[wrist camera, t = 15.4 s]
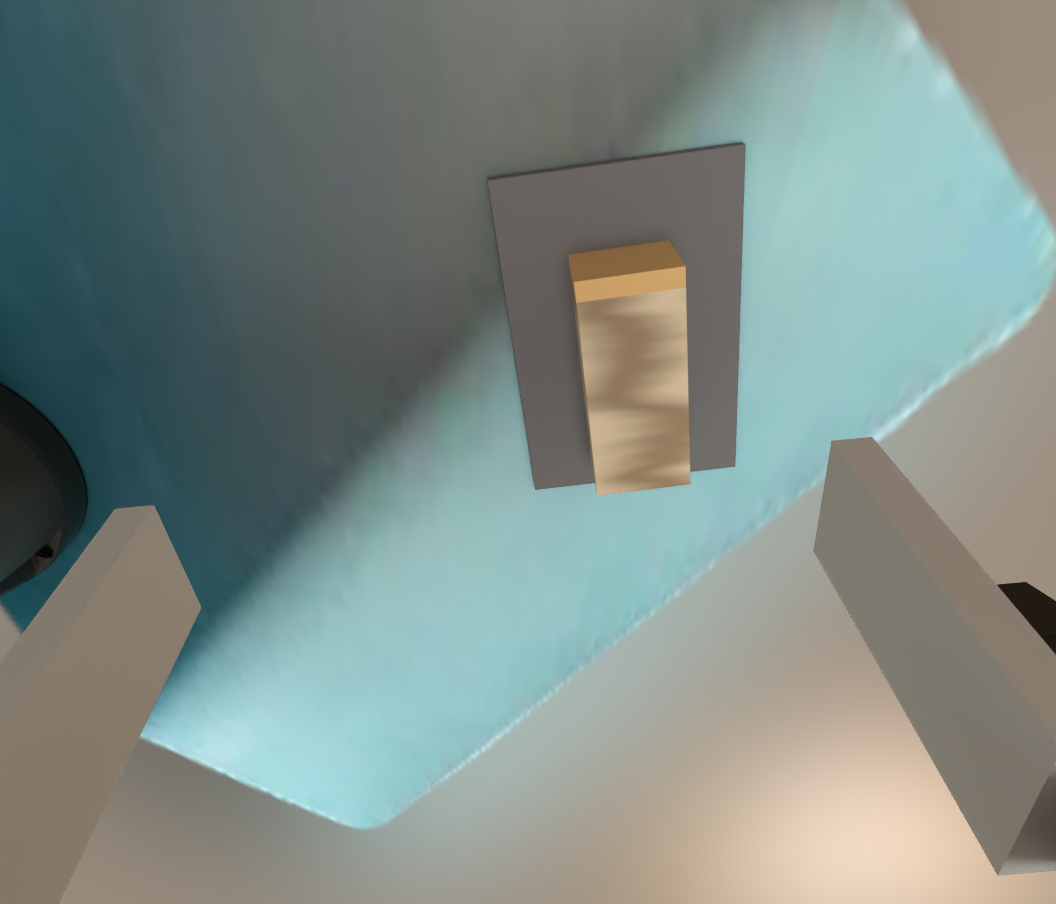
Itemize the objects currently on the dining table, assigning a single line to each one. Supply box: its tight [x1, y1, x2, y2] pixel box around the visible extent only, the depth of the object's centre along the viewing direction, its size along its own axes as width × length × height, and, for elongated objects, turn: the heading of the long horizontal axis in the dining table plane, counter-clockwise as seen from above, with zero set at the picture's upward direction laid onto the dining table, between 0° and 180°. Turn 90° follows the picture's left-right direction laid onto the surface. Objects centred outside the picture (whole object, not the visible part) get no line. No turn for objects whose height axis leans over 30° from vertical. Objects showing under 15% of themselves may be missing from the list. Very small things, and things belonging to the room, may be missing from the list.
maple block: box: [568, 240, 690, 496], centre depth 37 cm, size 5×4×12 cm
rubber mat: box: [488, 142, 745, 490], centre depth 38 cm, size 12×18×1 cm, turn 7°
